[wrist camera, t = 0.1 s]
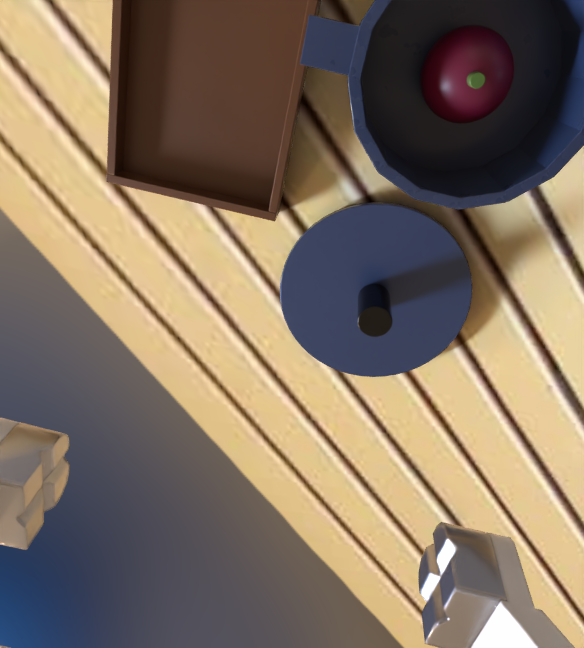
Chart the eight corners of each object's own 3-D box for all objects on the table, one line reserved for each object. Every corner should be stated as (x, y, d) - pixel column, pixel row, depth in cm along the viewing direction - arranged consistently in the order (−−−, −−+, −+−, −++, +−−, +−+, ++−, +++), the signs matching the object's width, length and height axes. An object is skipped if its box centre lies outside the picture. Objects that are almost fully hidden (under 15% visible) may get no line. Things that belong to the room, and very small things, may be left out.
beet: (432, 16, 33) (446, 13, 27) (516, 36, 33) (547, 36, 27) (406, 107, 35) (414, 120, 30) (484, 125, 35) (506, 142, 30)
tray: (130, -116, 32) (116, -125, 30) (334, -68, 32) (332, -74, 30) (117, 175, 40) (106, 181, 38) (278, 212, 40) (274, 221, 38)
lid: (302, 179, 38) (295, 198, 34) (499, 225, 38) (517, 250, 34) (266, 347, 45) (256, 381, 41) (433, 386, 45) (441, 425, 41)
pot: (338, -91, 31) (333, -122, 25) (658, -16, 31) (731, -28, 25) (292, 145, 37) (278, 167, 31) (556, 207, 37) (594, 241, 31)
